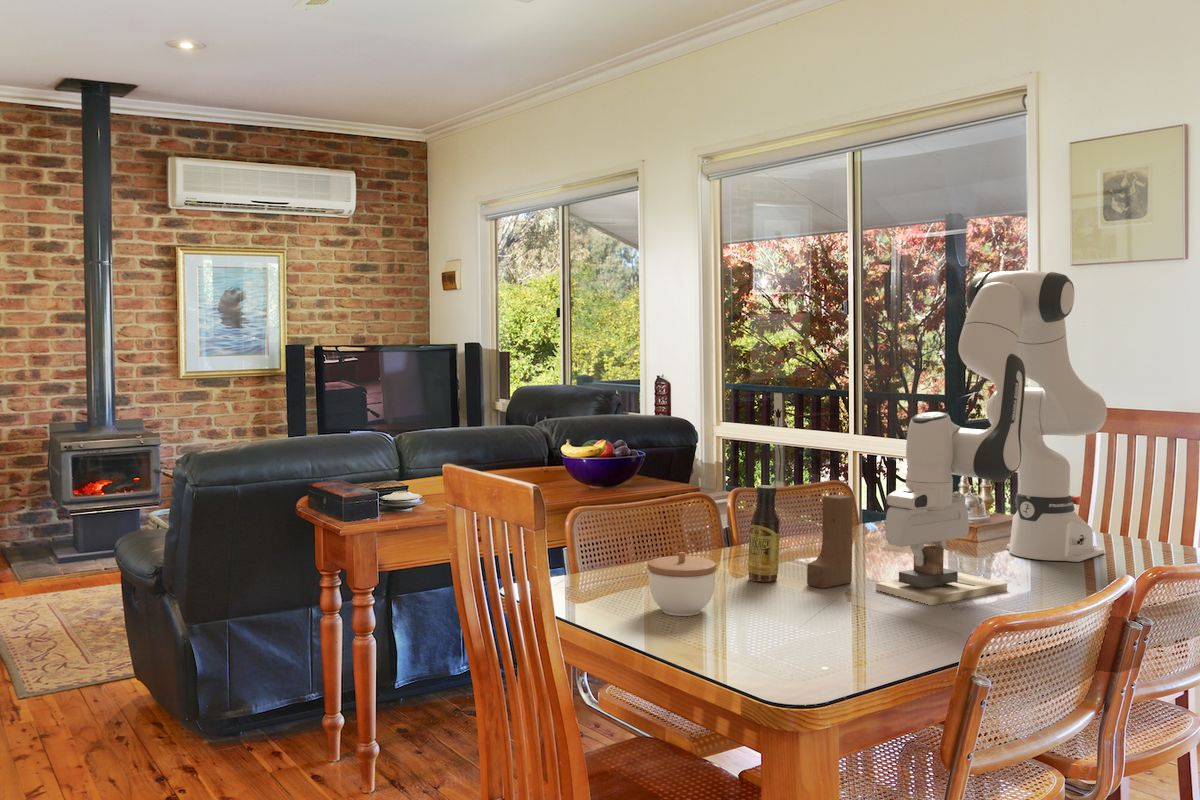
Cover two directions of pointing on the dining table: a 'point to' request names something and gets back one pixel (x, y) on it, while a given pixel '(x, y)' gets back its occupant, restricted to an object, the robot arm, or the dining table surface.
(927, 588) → the birch board
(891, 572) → the dining table surface
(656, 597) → the lidded bowl
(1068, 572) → the dining table surface
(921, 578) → the block
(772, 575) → the sauce bottle
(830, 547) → the wooden block
